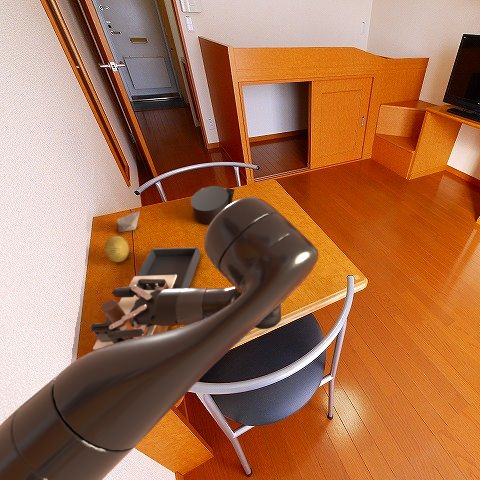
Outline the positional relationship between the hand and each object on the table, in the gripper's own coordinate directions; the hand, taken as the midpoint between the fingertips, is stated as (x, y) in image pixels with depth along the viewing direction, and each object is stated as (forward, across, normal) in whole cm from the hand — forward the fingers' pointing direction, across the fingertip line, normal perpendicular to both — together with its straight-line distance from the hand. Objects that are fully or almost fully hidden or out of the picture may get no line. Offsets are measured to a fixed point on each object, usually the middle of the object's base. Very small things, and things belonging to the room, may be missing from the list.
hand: (103, 310), depth 56 cm
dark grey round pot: (-8, -56, +14) cm, 58 cm away
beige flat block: (-1, -6, +14) cm, 15 cm away
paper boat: (+19, -46, +14) cm, 52 cm away
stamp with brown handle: (-2, 0, +8) cm, 8 cm away
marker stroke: (-4, -17, +12) cm, 22 cm away
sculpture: (+15, -30, +14) cm, 37 cm away
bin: (-2, -22, +14) cm, 26 cm away
